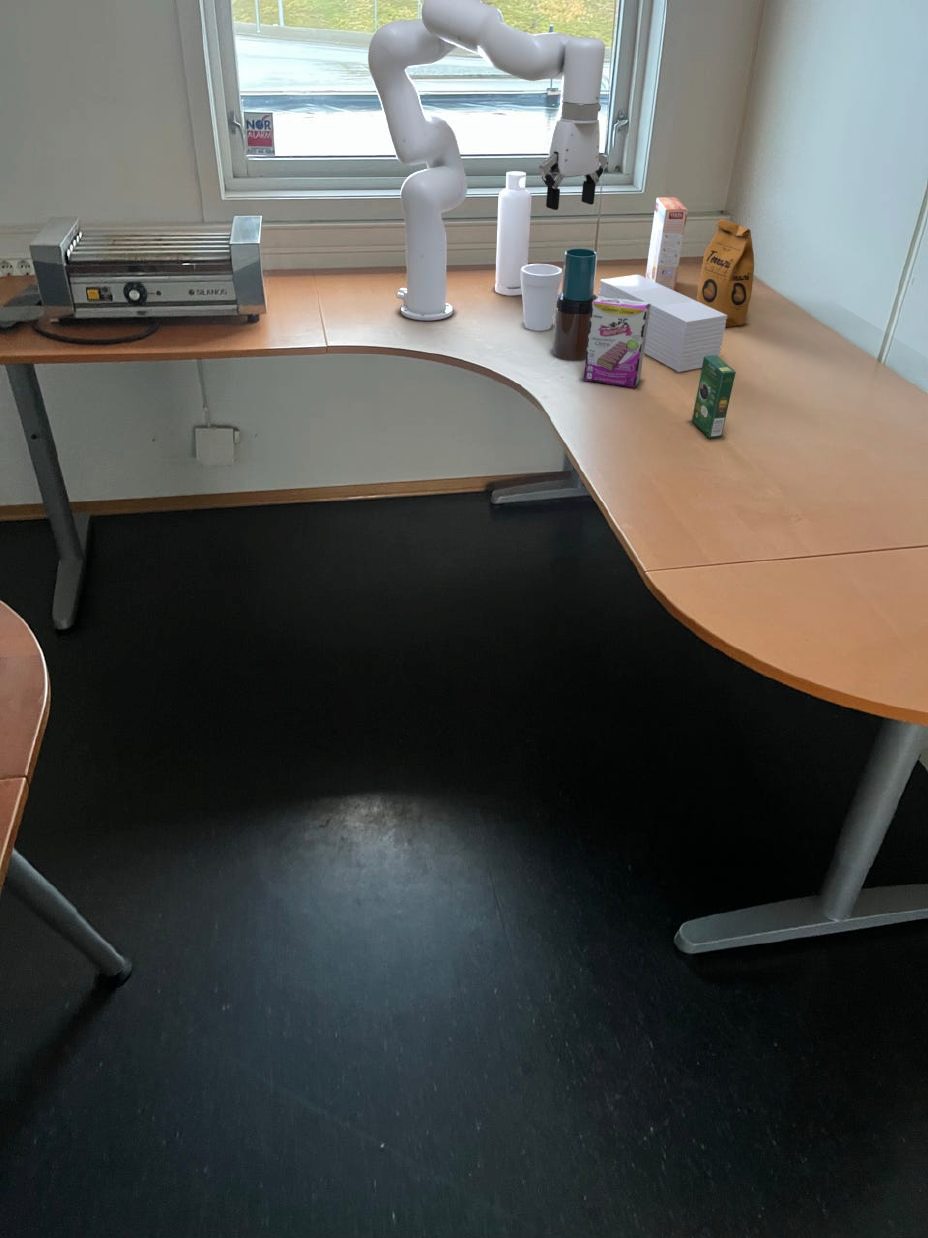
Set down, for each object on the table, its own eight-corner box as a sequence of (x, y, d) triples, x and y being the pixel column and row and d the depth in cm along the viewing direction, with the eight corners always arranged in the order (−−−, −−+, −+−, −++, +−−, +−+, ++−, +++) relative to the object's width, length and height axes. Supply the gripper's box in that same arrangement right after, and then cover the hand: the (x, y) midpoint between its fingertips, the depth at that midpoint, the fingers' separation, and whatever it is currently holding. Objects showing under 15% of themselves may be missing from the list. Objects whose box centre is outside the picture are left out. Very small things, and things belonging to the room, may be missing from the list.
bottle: (506, 283, 243) (511, 168, 227) (532, 289, 239) (539, 172, 223) (489, 291, 238) (493, 173, 221) (515, 297, 234) (521, 178, 217)
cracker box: (675, 295, 238) (688, 209, 225) (652, 294, 238) (664, 208, 225) (666, 279, 249) (678, 196, 237) (644, 278, 249) (655, 195, 237)
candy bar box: (582, 381, 190) (590, 301, 180) (588, 373, 194) (596, 294, 184) (636, 389, 187) (647, 308, 177) (640, 380, 191) (651, 301, 181)
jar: (545, 354, 202) (549, 300, 195) (566, 344, 207) (570, 291, 200) (577, 363, 198) (582, 308, 191) (598, 352, 203) (603, 299, 196)
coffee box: (723, 438, 169) (737, 370, 161) (709, 439, 168) (722, 371, 161) (704, 420, 175) (717, 353, 167) (690, 421, 175) (702, 354, 167)
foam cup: (554, 334, 212) (559, 276, 205) (515, 330, 214) (518, 273, 206) (559, 321, 220) (564, 265, 212) (521, 317, 221) (524, 262, 214)
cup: (555, 296, 195) (559, 252, 189) (572, 289, 199) (576, 246, 194) (582, 303, 192) (586, 258, 186) (598, 296, 196) (603, 252, 190)
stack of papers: (718, 364, 199) (727, 314, 192) (678, 372, 195) (686, 321, 188) (632, 319, 222) (638, 274, 215) (595, 325, 218) (600, 279, 211)
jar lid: (548, 307, 196) (549, 296, 195) (570, 298, 201) (571, 287, 200) (582, 316, 192) (583, 305, 190) (603, 306, 197) (604, 295, 196)
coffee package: (716, 330, 217) (734, 232, 204) (688, 313, 226) (704, 218, 213) (751, 326, 220) (771, 229, 206) (723, 310, 229) (740, 216, 216)
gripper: (598, 106, 185) (588, 197, 196) (532, 111, 177) (526, 206, 187) (624, 112, 181) (612, 204, 191) (557, 118, 172) (549, 214, 183)
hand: (569, 205), depth 189 cm, fingers open, 9 cm apart
